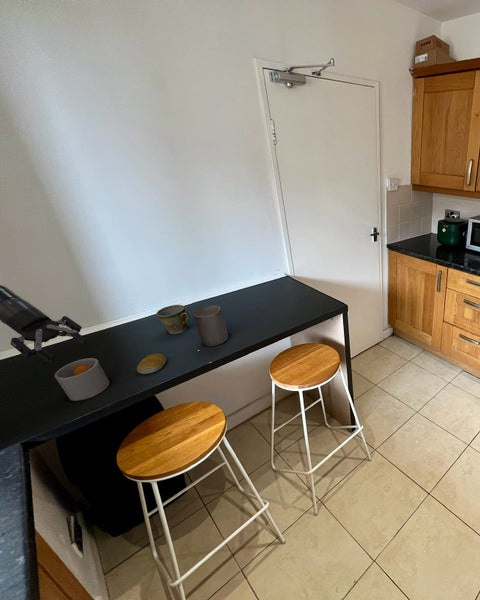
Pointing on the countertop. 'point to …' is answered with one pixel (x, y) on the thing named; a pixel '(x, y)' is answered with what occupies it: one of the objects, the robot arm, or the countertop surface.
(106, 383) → the pot
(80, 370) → the duck
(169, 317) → the ceramic cup
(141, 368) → the bread roll
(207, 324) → the grey canister
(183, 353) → the countertop surface
